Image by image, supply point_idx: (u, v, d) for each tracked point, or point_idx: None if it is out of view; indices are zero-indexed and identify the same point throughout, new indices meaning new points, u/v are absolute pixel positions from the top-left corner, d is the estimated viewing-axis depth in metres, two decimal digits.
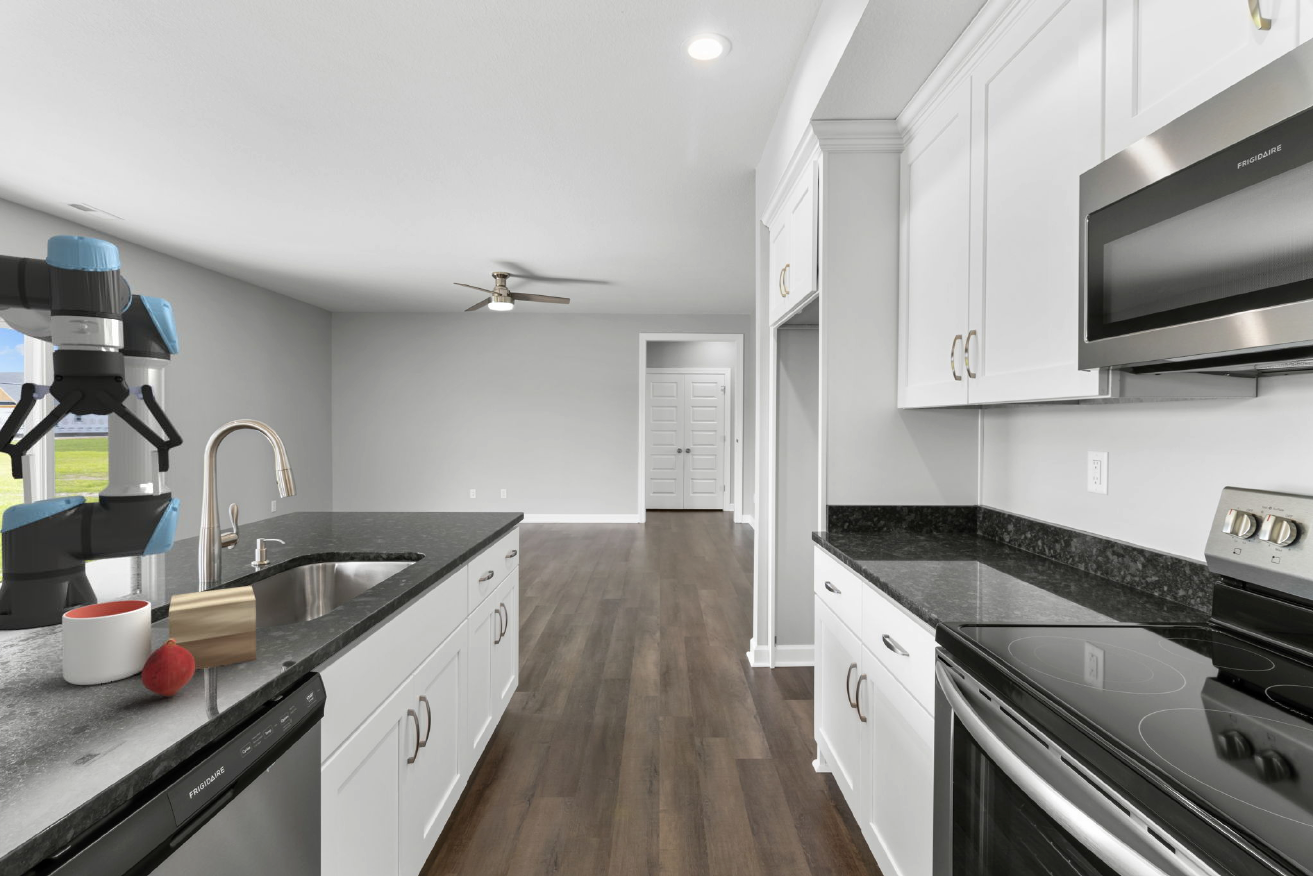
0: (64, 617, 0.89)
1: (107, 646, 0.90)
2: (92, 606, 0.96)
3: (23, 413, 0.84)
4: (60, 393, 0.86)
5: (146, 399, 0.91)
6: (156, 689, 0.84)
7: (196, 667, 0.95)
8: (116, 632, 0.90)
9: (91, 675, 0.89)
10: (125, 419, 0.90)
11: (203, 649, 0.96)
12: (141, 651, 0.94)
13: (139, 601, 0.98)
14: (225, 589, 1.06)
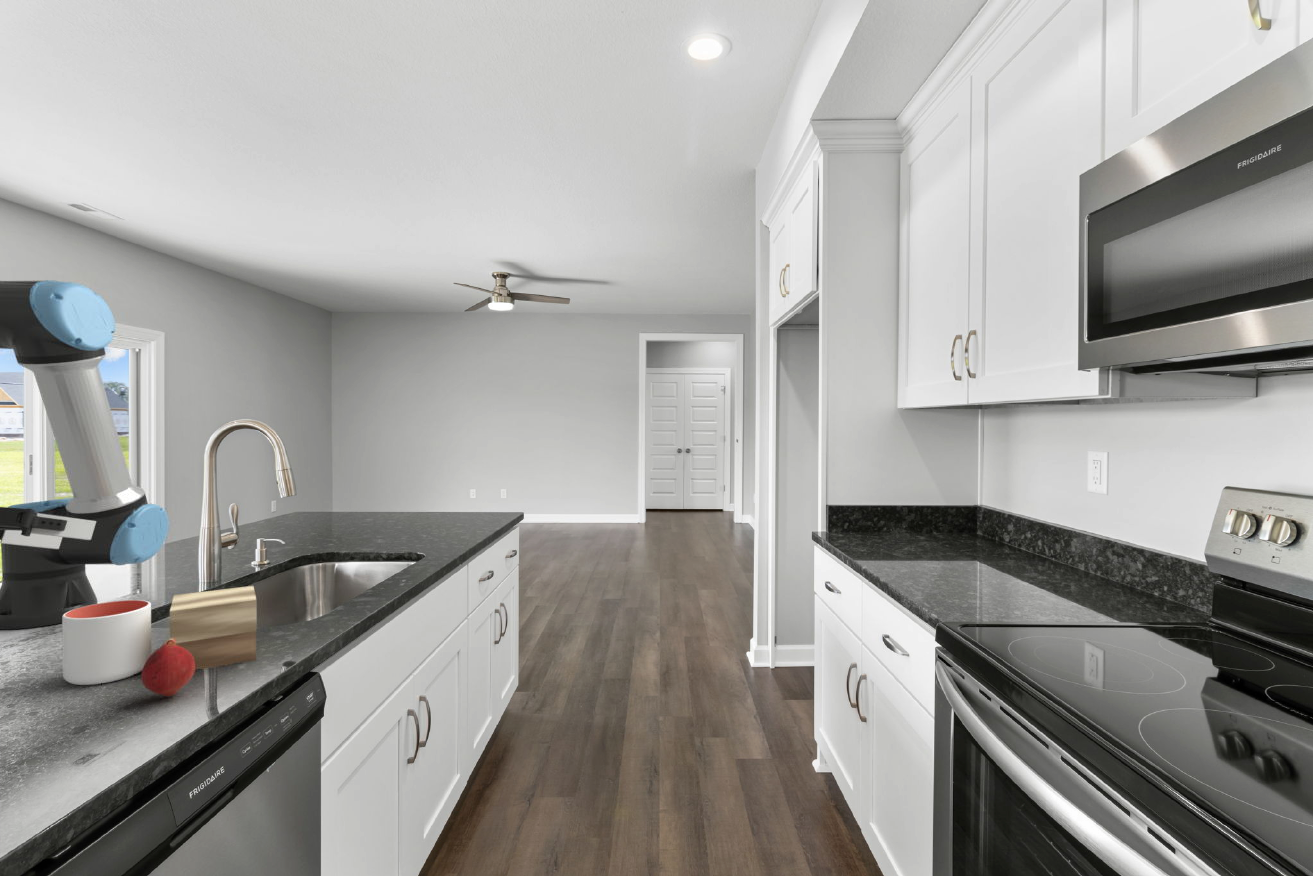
0: (64, 617, 0.89)
1: (107, 646, 0.90)
2: (92, 606, 0.96)
3: None
4: None
5: None
6: (156, 689, 0.84)
7: (196, 667, 0.95)
8: (116, 632, 0.90)
9: (91, 675, 0.89)
10: None
11: (204, 649, 0.96)
12: (141, 651, 0.94)
13: (139, 601, 0.98)
14: (227, 589, 1.06)
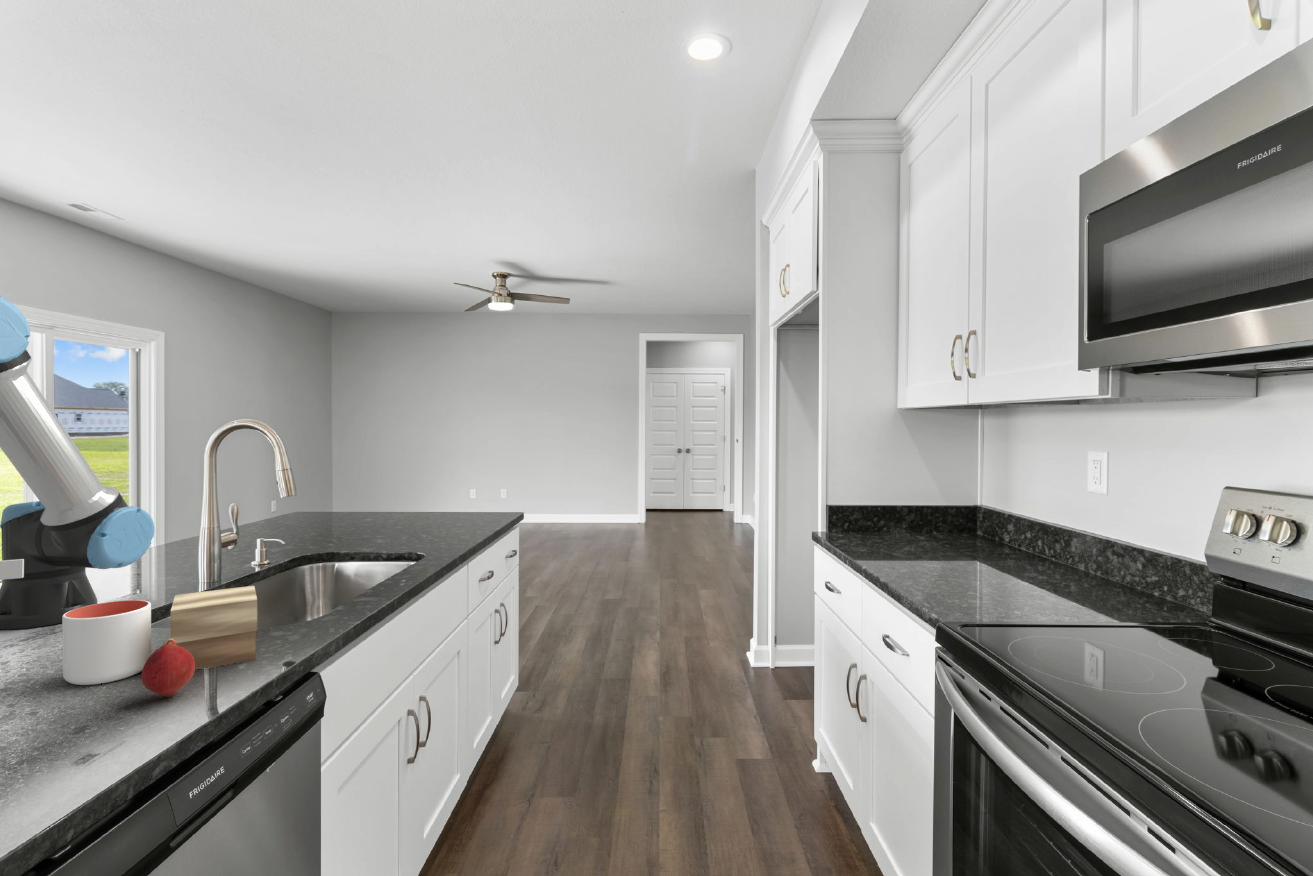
0: (64, 617, 0.89)
1: (107, 646, 0.90)
2: (92, 606, 0.96)
3: None
4: None
5: None
6: (156, 689, 0.84)
7: (196, 667, 0.95)
8: (116, 632, 0.90)
9: (91, 675, 0.89)
10: None
11: (203, 649, 0.96)
12: (141, 651, 0.94)
13: (139, 601, 0.98)
14: (228, 589, 1.06)
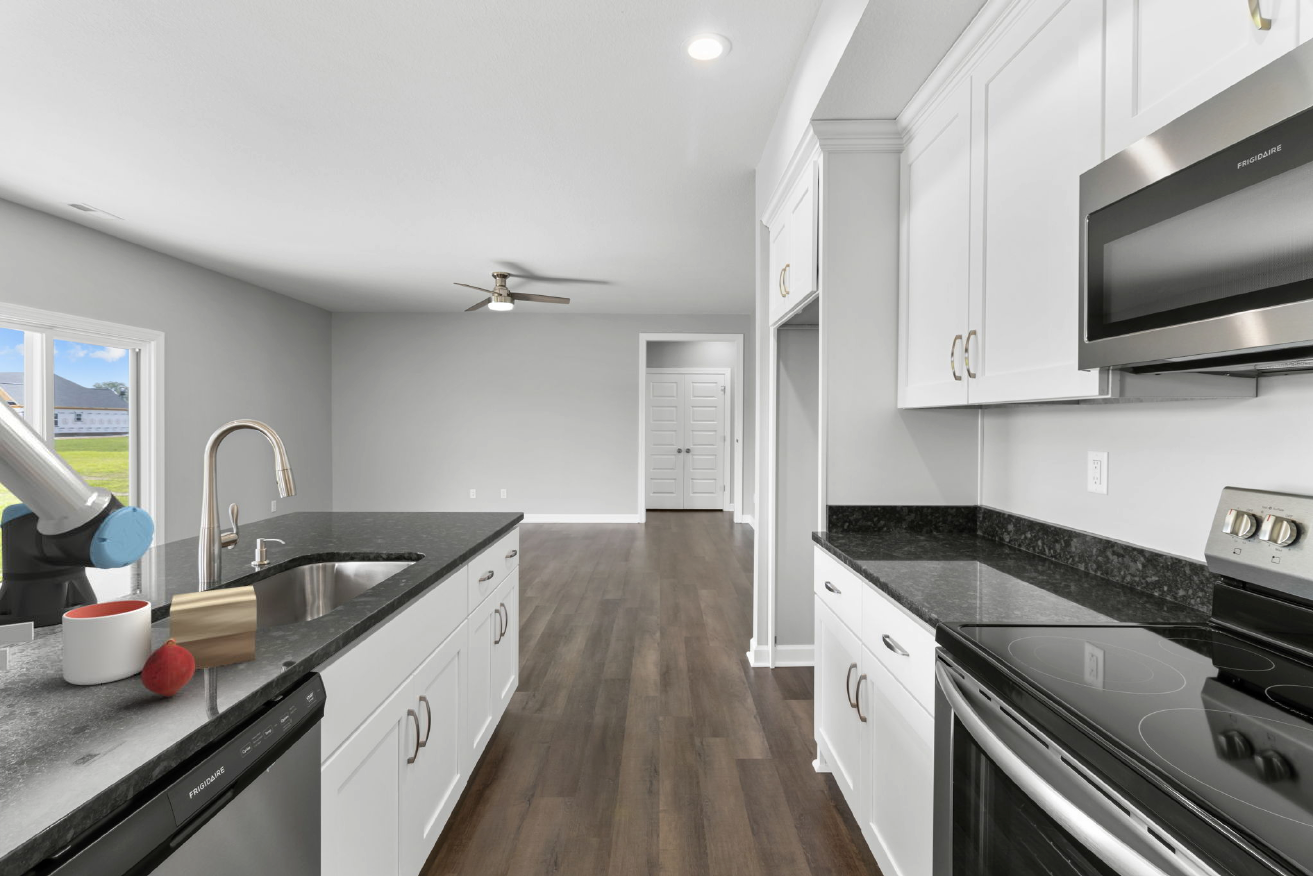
0: (64, 617, 0.89)
1: (107, 646, 0.90)
2: (92, 606, 0.96)
3: None
4: None
5: None
6: (156, 689, 0.84)
7: (195, 667, 0.95)
8: (116, 632, 0.90)
9: (91, 675, 0.89)
10: None
11: (202, 649, 0.96)
12: (141, 651, 0.94)
13: (139, 601, 0.98)
14: (226, 589, 1.06)
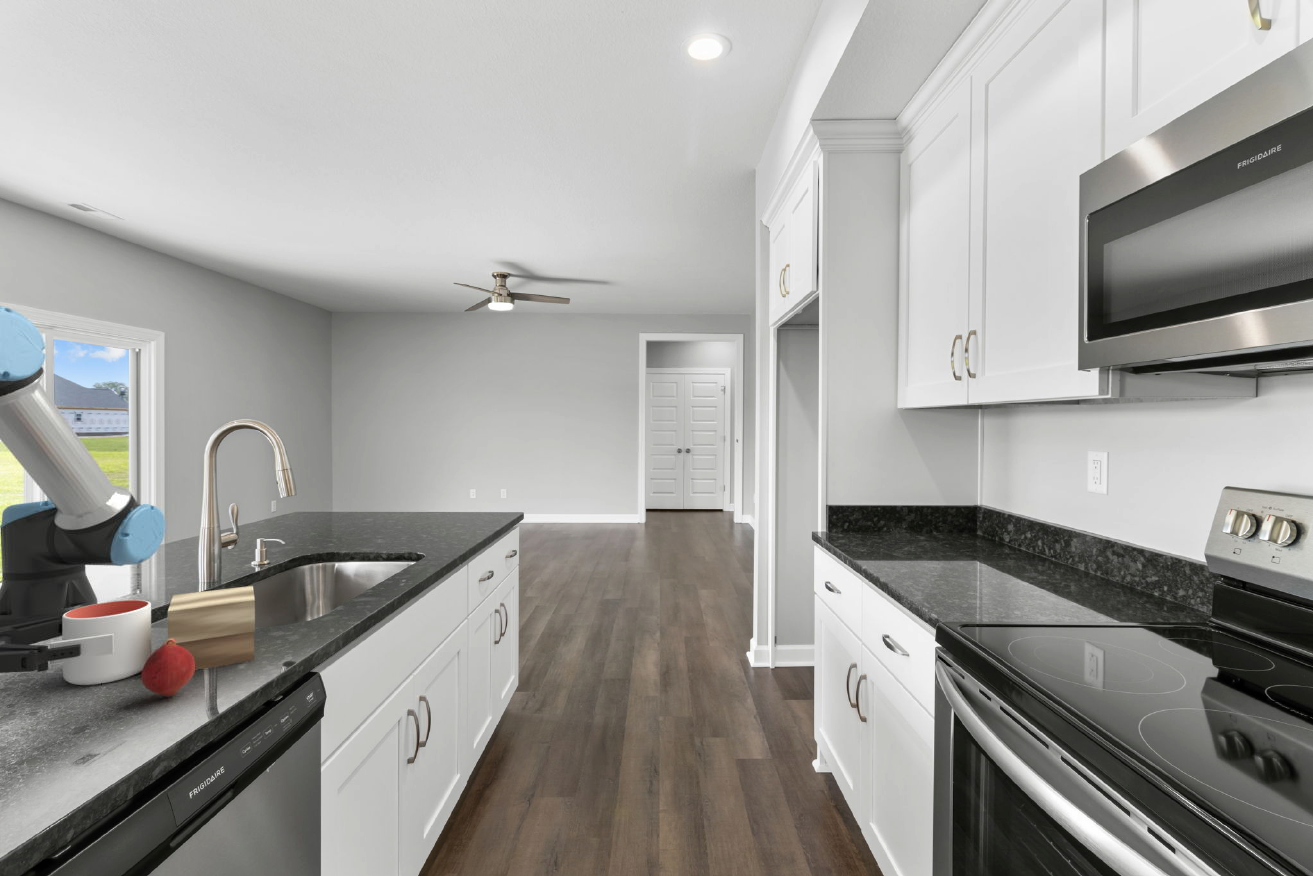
0: (64, 617, 0.89)
1: None
2: (92, 606, 0.96)
3: None
4: None
5: None
6: (156, 689, 0.84)
7: None
8: (116, 632, 0.90)
9: (91, 675, 0.89)
10: None
11: (202, 649, 0.96)
12: (141, 651, 0.94)
13: (139, 601, 0.98)
14: (226, 589, 1.06)
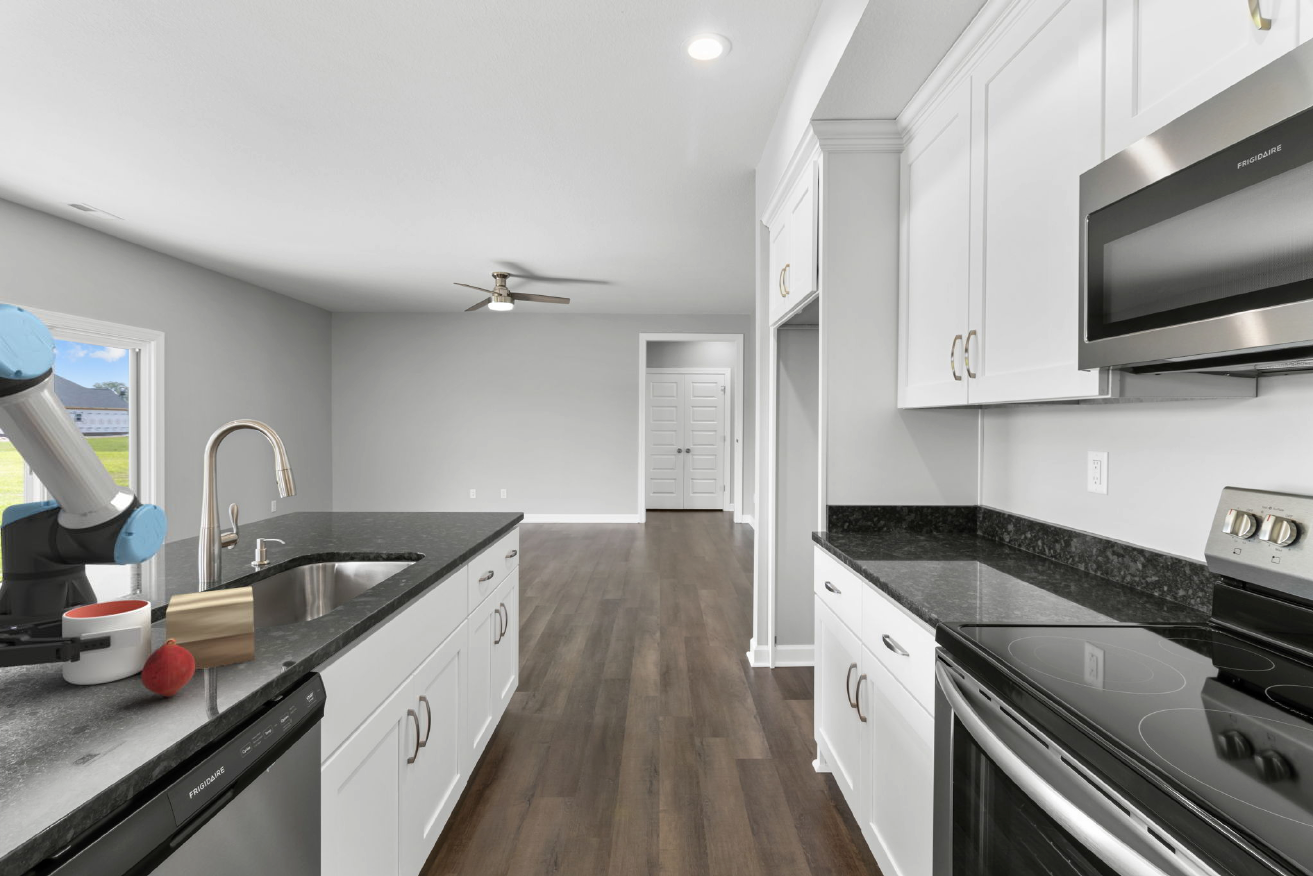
0: (64, 617, 0.89)
1: None
2: (92, 606, 0.96)
3: None
4: None
5: None
6: (156, 689, 0.84)
7: None
8: None
9: (91, 675, 0.89)
10: None
11: (202, 649, 0.96)
12: (141, 651, 0.94)
13: (139, 601, 0.98)
14: (225, 590, 1.06)
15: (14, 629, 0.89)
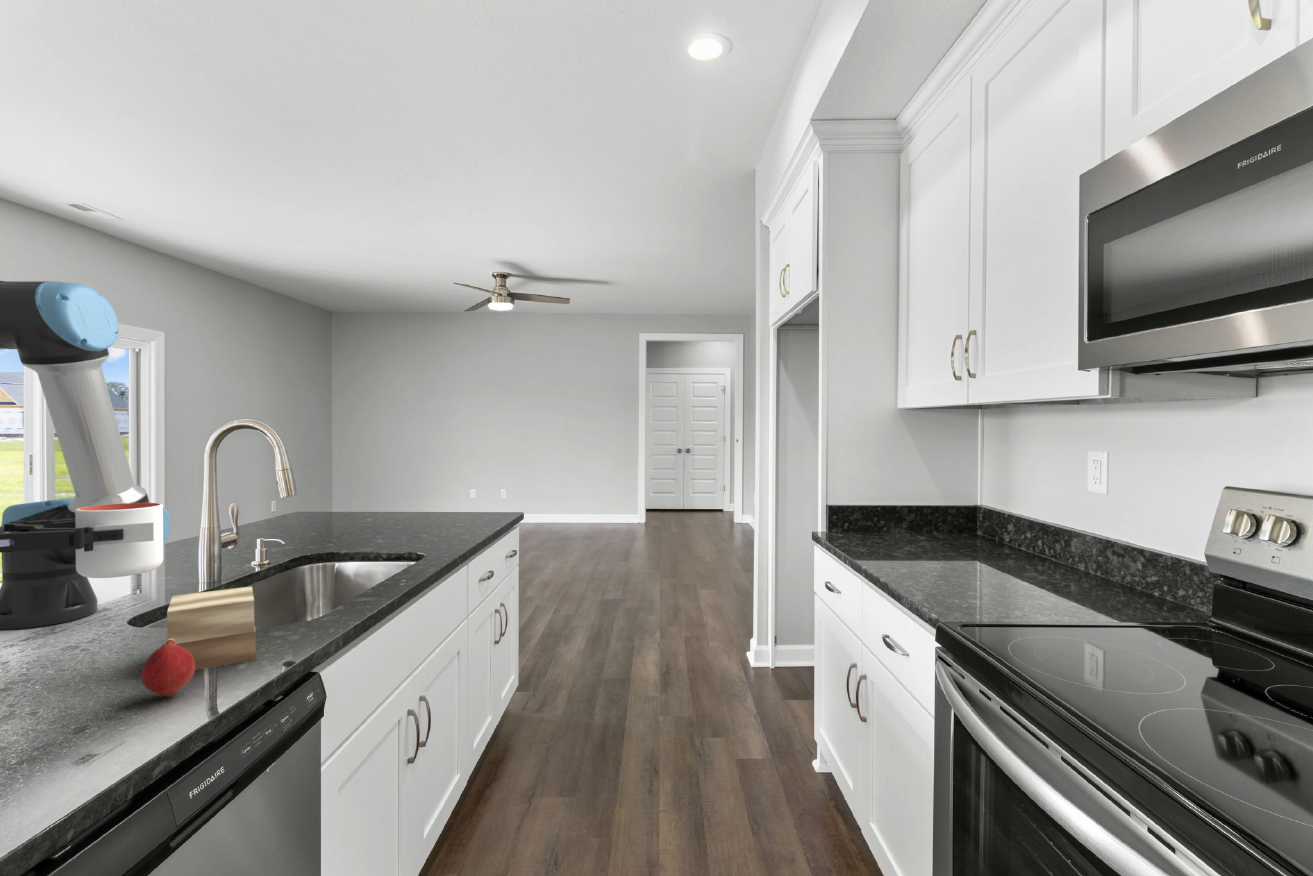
0: (77, 510, 0.90)
1: None
2: (105, 506, 0.96)
3: None
4: None
5: None
6: (156, 689, 0.84)
7: (196, 668, 0.95)
8: None
9: (104, 568, 0.89)
10: None
11: (203, 650, 0.96)
12: (153, 549, 0.94)
13: (151, 503, 0.98)
14: (225, 590, 1.06)
15: (28, 522, 0.89)
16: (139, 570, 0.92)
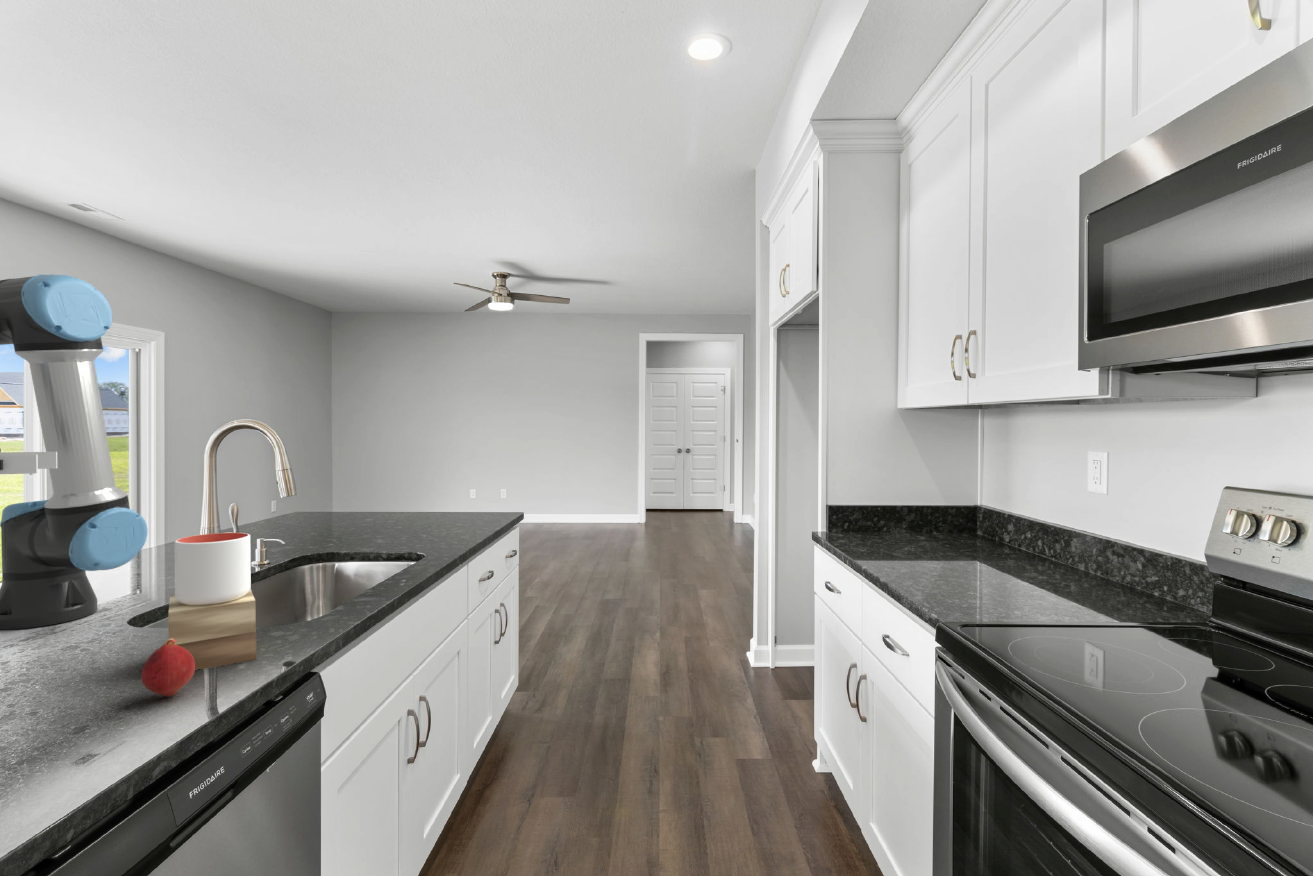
0: (177, 542, 0.96)
1: (217, 569, 0.97)
2: (196, 536, 1.02)
3: None
4: None
5: None
6: (156, 689, 0.84)
7: (196, 668, 0.95)
8: (224, 556, 0.97)
9: (203, 596, 0.96)
10: None
11: (204, 650, 0.96)
12: (244, 577, 1.01)
13: (237, 533, 1.05)
14: None
15: None
16: (233, 597, 0.99)
